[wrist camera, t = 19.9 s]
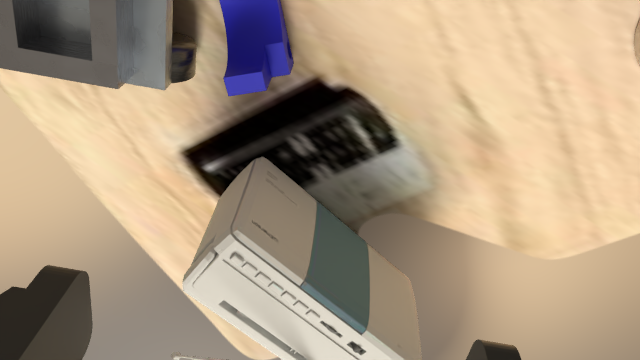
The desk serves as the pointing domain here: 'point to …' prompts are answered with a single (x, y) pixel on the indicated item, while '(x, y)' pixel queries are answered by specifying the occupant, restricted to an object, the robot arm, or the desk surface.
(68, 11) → the trolley
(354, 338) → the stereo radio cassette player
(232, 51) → the cable clip
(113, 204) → the desk surface
